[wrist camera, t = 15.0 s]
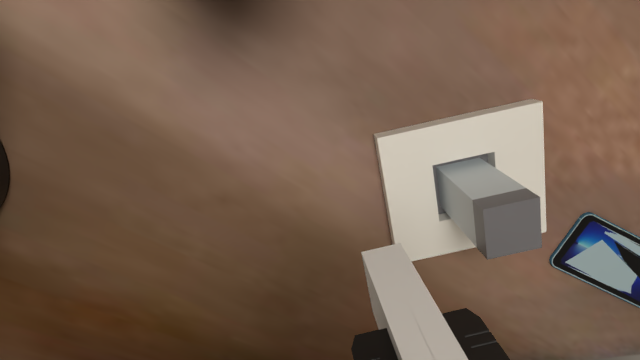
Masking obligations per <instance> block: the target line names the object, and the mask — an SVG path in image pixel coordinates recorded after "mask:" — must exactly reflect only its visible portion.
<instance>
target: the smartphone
mask: <svg viewBox="0 0 640 360" xmlns="http://www.w3.org/2000/svg"><path fill="white" fill-rule="evenodd" d="M549 261H550V264H551V265H552V266H553V267H555V268H557V269H559V270H561V271H563V272H565V273H567V274H569V275H571V276H573V277H576V278H578V279H580V280H582V281H584V282H586V283H588V284H590V285H593V286H595V287H597V288H599V289H601V290H603V291H605V292H607V293H609V294H611V295H614V296H616V297H618V298H620V299H622V300H624V301H626V302H628V303H631V304H633V305H635V306H637V307H639V308H640V237H638V236H636V235H634V234H632V233H630V232H628V231H626V230H624V229H623V228H621V227H619V226H617V225H615V224H613V223H611V222H609V221H607V220H605V219H603V218H601V217H599V216H597V215H595V214H593V213H590V212H587V213H584V214H582V215H581V216H580V217H579V218H578V220H577V221H576V222H575V224H574V225H573V227H572V228H571V229H570V230H569V232H568V233H567V235H566V237H565V238H564V239H563V240H562V241H561V243H560V244H559V245H558V247H557V249H556V250H555V252H553V253H552V255H551V256H550V259H549Z"/></svg>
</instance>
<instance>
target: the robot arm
mask: <svg viewBox="0 0 640 360" xmlns="http://www.w3.org/2000/svg"><path fill="white" fill-rule="evenodd" d="M8 184H9V169H8V162H7V158H6V155H5V152H4V149H3V147H2V145H1V142H0V207H1V205H2V203H3V201H4V199H5V196H6V194H7V190H8ZM361 254H362V259H363V264H364V269H365V274H366V280H367V285H368V290H369V295H370V300H371V305H372V311H373V314H374V317H375V320H376V323H377V325H378V328H379V330H376V331H371V332H367V333H363V334H359V335H355V338H354V341H353V345H352V354H353V358H354V360H510V359H509V358H508V356H507V355H506V353H505V352H504V350H503V349H502V348H501V346H500V345H499V343H497V341H496V339H495V338H494V336H493V335H492V334H491V332H489V329H488V328H487V326H486V325H485V324H484V322H483V321H482V319H481V318H480V317H479V316H477V315H476V314H474V313H473V312H471V311H470V310H468V309H467V308H464V309H460V310H456V311H451V312H447V313H443V314H441V312H440V310H439V308H438V307H437V305H436V303H435V302H434V300H433V298H432V296H431V295H430V293H429V291H428V290H427V288H426V286H425V284H424V283H423V281H422V279H421V277H420V276H419V274H418V272H417V271H416V269H415V267H414V265H413V264H412V262H411V260H410V259H409V257H408V255H407V253H406V252H405V250H404V248H403V247H402V245H401V243H398V244H394V245H390V246H385V247H381V248H377V249H372V250H368V251H364V252H361Z"/></svg>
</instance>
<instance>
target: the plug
mask: <svg viewBox="0 0 640 360" xmlns="http://www.w3.org/2000/svg"><path fill="white" fill-rule="evenodd" d="M436 169H437V177H438V185H439V193H440V202H441V207H442V208H443V209H444V211H445V212H446V213H447V214H448V215H449V216H450V217H451V219H452V220H453V221H454V222H455V223H456V224H457V225H458V227H459V228H460V229H461V230H462V231H463V232H464V234H465V235H466V236H467V237H468V238H469V239H470V240H471V242H472V243H473V244H474V245H475V246H476V247H477V248H478V250H479V251H480V252H481V253H482V254H483V255H484V256H485V258H486V259H492V258H496V257H501V256H506V255H510V254H515V253H519V252H524V251H528V250H533V249H537V248H542V239H541V209H540V197H539V196H538V195H536V194H535V193H533V192H532V191H530V190H529V189H527V188H525V187H524V186H522V185H521V184H519V183H518V182H516V181H515V180H513V179H512V178H510V177H509V176H507V175H506V174H504V173H502V172H501V171H499V170H498V169H496V168H495V167H493V166H492V165H490V164H489V163H487V162H486V161H484V160H483V159H481V158H475V159H470V160H466V161H461V162H457V163H452V164H448V165H443V166H439V167H436Z"/></svg>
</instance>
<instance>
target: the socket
mask: <svg viewBox="0 0 640 360" xmlns="http://www.w3.org/2000/svg"><path fill="white" fill-rule="evenodd" d="M374 140H375V146H376V152H377V158H378V164H379V169H380V175H381V181H382V187H383V193H384V199H385V204H386V210H387V216H388V222H389V228H390V234H391V239H392V245H394V244H398V243H401V245H402V247H403V248H404V250H405V252H406V253H407V255H408V257H409V259H410V260H411V261H416V260H420V259H425V258H429V257H434V256H438V255H443V254H447V253H452V252H457V251H461V250H466V249H470V248H475V247H476V246H475V245H474V244H473V243H472V242H471V240H470V239H469V238H468V237H467V236H466V235H465V234H464V232H463V231H462V230H461V229H460V228H459V227H458V225H457V224H456V223H455V222H454V221H453V220H452V219H451V217H450V216H449V215H448V214H447V213H446V212H445V211H444V209H443V208H442V207H441V202H440V193H439V185H438V177H437V169H436V167H439V166H443V165H448V164H452V163H457V162H461V161H466V160H470V159H475V158H481V159H483V160H484V161H486V162H487V163H489V164H490V165H492V166H493V167H495V168H496V169H498V170H499V171H501V172H502V173H504V174H506V175H507V176H509V177H510V178H512V179H513V180H515V181H516V182H518V183H519V184H521V185H522V186H524V187H525V188H527V189H529V190H530V191H532V192H533V193H535V194H536V195H538V196H539V197H540V209H541V233H543V232H546V201H545V167H544V132H543V101H539V100H535V99H529V100H524V101H520V102H515V103H511V104H506V105H502V106H497V107H493V108H488V109H484V110H479V111H475V112H470V113H466V114H461V115H457V116H452V117H448V118H443V119H439V120H434V121H430V122H425V123H421V124H416V125H412V126H407V127H403V128H399V129H394V130H390V131H385V132H381V133H376V134H374Z"/></svg>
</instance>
